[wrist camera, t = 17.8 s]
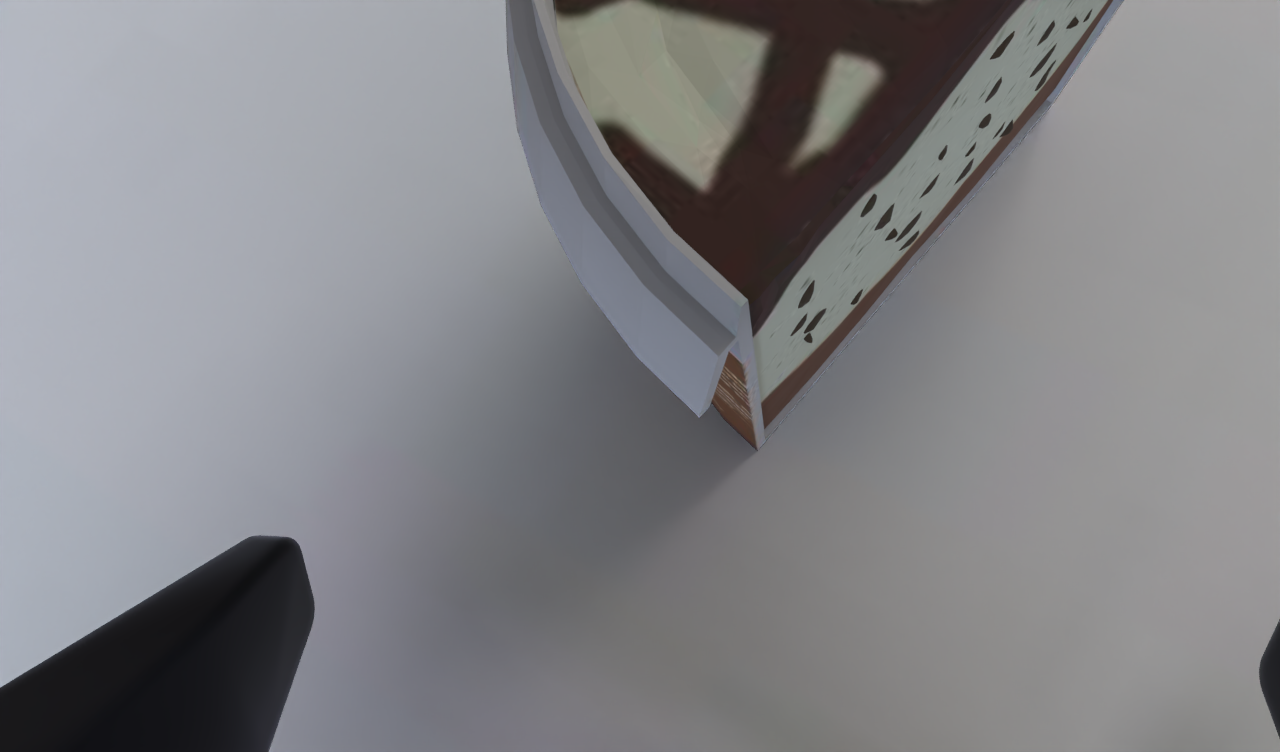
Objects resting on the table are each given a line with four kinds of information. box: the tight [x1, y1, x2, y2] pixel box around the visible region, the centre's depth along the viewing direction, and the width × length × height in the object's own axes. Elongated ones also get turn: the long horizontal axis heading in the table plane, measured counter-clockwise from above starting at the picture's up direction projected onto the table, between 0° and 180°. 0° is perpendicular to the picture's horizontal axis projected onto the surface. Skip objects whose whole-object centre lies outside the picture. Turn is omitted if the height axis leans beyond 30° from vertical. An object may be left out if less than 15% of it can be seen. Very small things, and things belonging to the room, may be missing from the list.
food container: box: [506, 0, 1124, 451], centre depth 13 cm, size 12×6×10 cm, turn 139°
